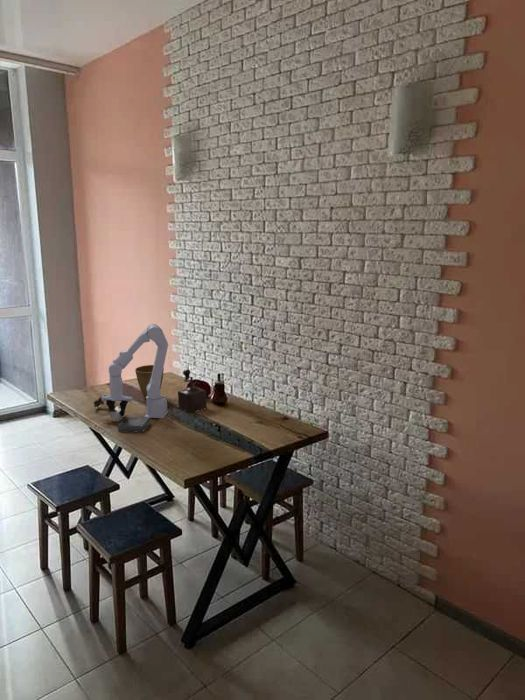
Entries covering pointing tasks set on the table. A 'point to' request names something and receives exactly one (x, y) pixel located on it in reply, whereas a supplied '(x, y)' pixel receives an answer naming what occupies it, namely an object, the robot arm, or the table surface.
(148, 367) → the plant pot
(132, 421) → the stand
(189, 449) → the table surface
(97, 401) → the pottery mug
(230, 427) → the table surface
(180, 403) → the manual coffee grinder
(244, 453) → the table surface
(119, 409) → the block
